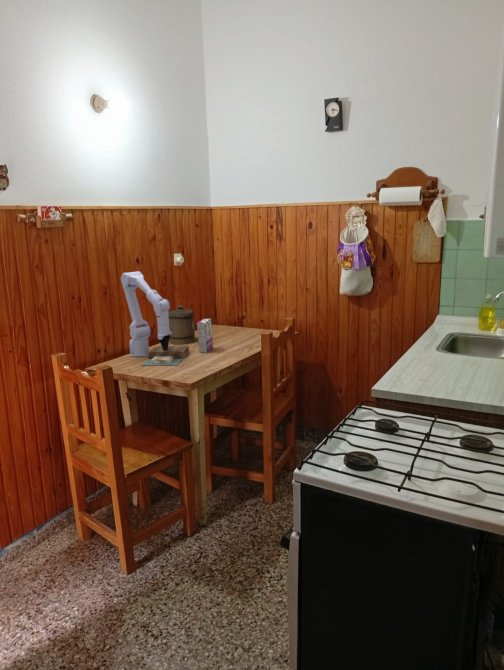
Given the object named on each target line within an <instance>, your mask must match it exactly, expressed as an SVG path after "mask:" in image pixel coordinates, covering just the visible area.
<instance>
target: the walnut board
mask: <svg viewBox="0 0 504 670" xmlns="http://www.w3.org/2000/svg"><path fill="white" fill-rule="evenodd" d="M189 347H190V346H189V345H172V346H171V345H168V350H167V351H163V349H162V346H154V347H153V348H152V349H149V352H148V354H149V355H148V359H153V358H154V357H159V356H173V359H183V360H184V359H185V358H186V357H188V355H189V354H190V349H189Z"/></svg>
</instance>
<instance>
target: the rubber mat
mask: <svg viewBox="0 0 504 670" xmlns="http://www.w3.org/2000/svg"><path fill="white" fill-rule="evenodd" d="M183 360H184V359H173V361H172V362H171V363H164V364H152V359H149V358H148V359H147V360H146V361H144V362H143V363H142V364H141V366H142V367H149V366H150V367H151V366H153V367H155V366H156V367H157V366H158V367H159V366H160V367H162V366H164V367H165V366H166V367H167V366H168V367H169V366H170V367H171V366H174V367H175V366H178V365H179V364H180V363H181V362H182V361H183Z"/></svg>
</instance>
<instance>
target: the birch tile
mask: <svg viewBox="0 0 504 670" xmlns="http://www.w3.org/2000/svg"><path fill="white" fill-rule="evenodd" d="M172 361H173V356H159V357H154V358H153V359H152V364H164V363H171V362H172Z"/></svg>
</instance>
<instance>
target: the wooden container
mask: <svg viewBox="0 0 504 670" xmlns="http://www.w3.org/2000/svg"><path fill="white" fill-rule="evenodd" d="M176 308H177V309H175V310H168V317H169V330H170V332H172V334H169V335H168V336H171V338H170V340H169V344H172V345H188V344H192V343H194V342H195V341H196V335H195V334H196V332H195V330H196V329H195V321H194V310H192V309H187V308H186V309H184V305H182V304H178V305H177V306H176Z"/></svg>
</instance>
